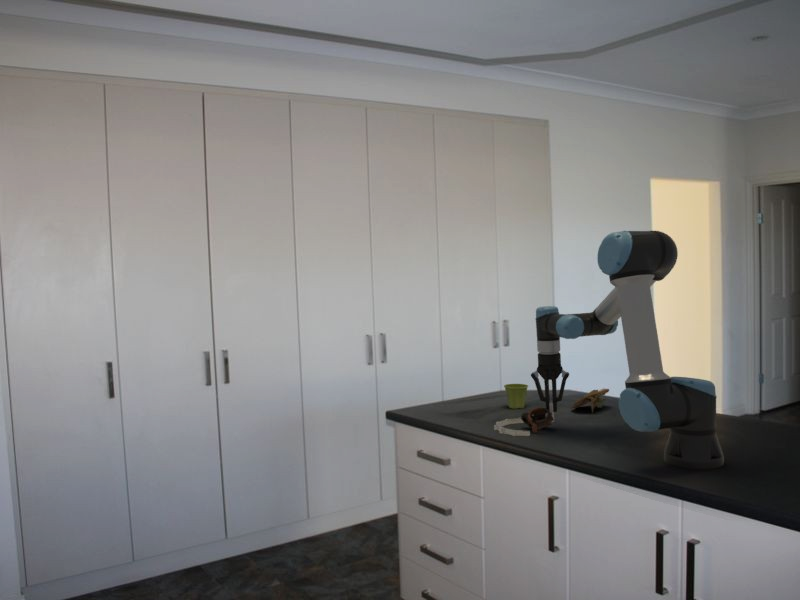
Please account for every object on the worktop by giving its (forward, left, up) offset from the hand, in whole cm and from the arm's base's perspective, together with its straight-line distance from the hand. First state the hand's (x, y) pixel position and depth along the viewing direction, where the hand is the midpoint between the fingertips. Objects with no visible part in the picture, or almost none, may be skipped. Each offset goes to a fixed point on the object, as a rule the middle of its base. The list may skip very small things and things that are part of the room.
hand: (552, 421), depth 228 cm
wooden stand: (+28, -14, -4) cm, 32 cm away
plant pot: (+33, +16, -3) cm, 37 cm away
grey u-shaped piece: (-1, +9, -3) cm, 9 cm away
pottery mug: (-1, +4, -4) cm, 6 cm away
